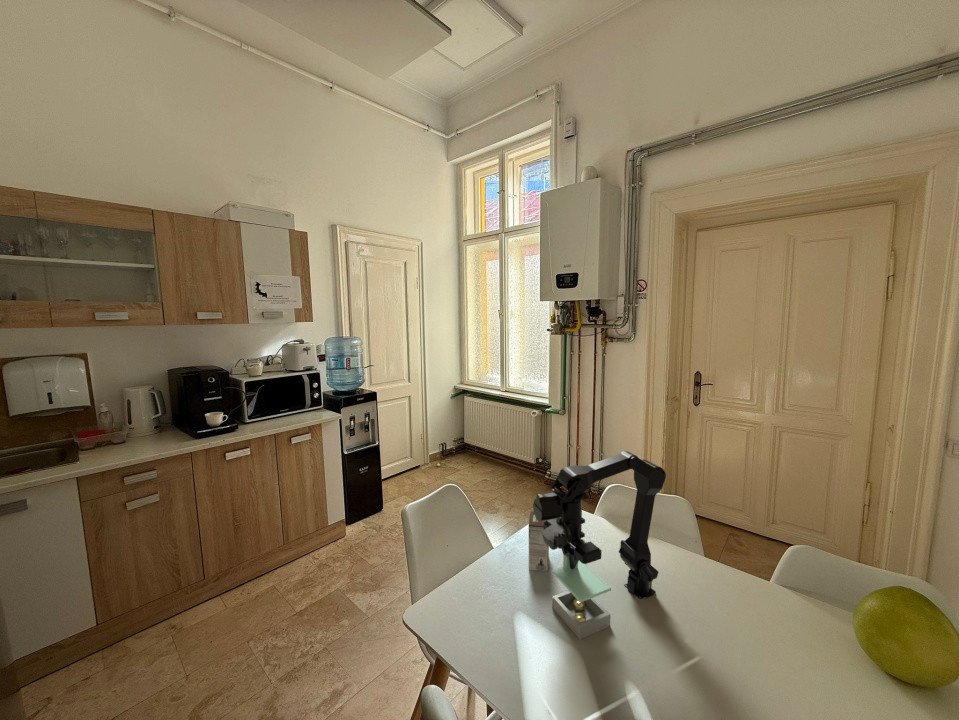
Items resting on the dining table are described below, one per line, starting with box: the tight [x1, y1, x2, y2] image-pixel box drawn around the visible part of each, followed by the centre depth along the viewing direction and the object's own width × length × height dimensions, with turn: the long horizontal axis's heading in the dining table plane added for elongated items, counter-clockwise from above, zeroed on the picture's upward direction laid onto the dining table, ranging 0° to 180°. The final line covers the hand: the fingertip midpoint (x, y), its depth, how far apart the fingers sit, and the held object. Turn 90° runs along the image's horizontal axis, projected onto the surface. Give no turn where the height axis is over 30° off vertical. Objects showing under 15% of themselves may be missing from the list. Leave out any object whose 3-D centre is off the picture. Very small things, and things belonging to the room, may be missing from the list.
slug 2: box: [574, 613, 586, 623], centre depth 104 cm, size 3×3×2 cm
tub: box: [551, 589, 611, 640], centre depth 107 cm, size 10×12×4 cm
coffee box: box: [528, 510, 550, 572], centre depth 130 cm, size 9×6×16 cm
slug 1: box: [573, 598, 584, 613], centre depth 110 cm, size 3×3×2 cm
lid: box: [551, 553, 612, 603], centre depth 106 cm, size 10×12×5 cm
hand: (570, 566), depth 110 cm, fingers closed on lid
